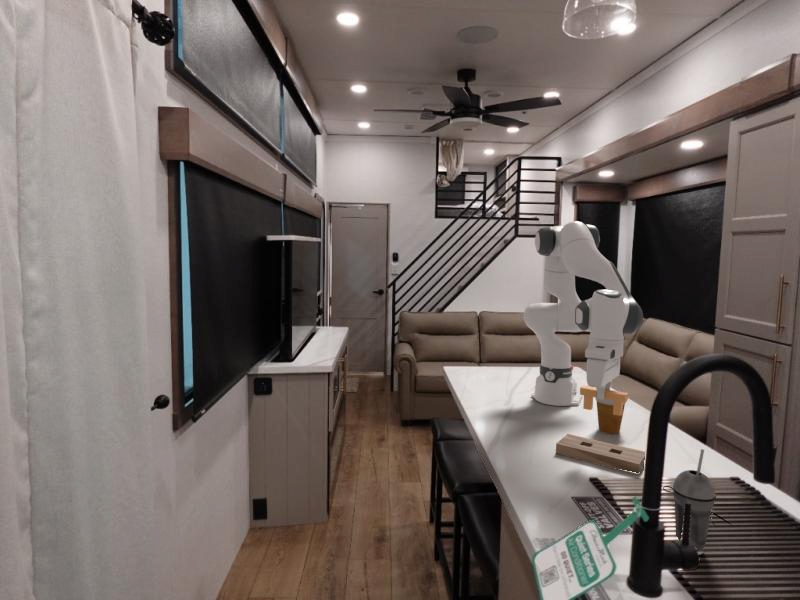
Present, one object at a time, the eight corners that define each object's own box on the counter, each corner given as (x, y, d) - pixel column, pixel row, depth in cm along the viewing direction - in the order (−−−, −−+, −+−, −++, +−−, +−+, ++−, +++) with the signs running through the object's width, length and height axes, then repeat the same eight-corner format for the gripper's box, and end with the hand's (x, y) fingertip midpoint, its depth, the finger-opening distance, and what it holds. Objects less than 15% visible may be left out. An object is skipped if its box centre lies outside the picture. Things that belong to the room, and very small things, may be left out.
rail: (567, 443, 148) (567, 433, 147) (646, 462, 134) (647, 452, 134) (555, 453, 140) (556, 443, 139) (638, 475, 126) (639, 464, 126)
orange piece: (582, 405, 140) (583, 385, 140) (626, 414, 133) (628, 393, 133) (579, 408, 138) (580, 387, 138) (624, 417, 131) (625, 395, 130)
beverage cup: (660, 538, 98) (666, 442, 96) (694, 537, 98) (701, 442, 96) (684, 561, 90) (691, 457, 89) (721, 559, 91) (729, 457, 89)
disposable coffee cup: (625, 428, 161) (627, 393, 160) (623, 438, 153) (626, 400, 152) (595, 423, 165) (596, 389, 164) (591, 432, 157) (593, 396, 156)
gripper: (604, 342, 144) (602, 387, 145) (582, 352, 128) (580, 402, 129) (627, 344, 140) (624, 391, 141) (607, 355, 124) (605, 407, 125)
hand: (603, 397), depth 135 cm, fingers closed on orange piece, 3 cm apart
